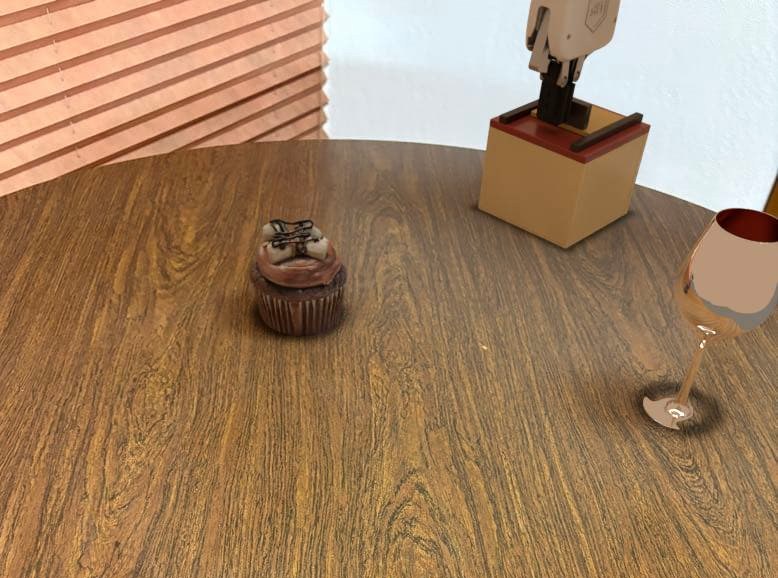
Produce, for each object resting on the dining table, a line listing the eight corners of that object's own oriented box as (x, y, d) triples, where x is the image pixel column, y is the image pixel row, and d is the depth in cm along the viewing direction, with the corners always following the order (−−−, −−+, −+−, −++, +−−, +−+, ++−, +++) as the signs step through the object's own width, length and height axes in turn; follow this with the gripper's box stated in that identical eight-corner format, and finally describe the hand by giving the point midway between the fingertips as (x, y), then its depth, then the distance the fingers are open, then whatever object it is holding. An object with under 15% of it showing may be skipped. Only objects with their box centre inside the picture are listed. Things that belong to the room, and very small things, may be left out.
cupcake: (360, 335, 85) (364, 241, 78) (266, 351, 83) (260, 255, 75) (330, 285, 91) (331, 193, 84) (241, 299, 89) (234, 206, 81)
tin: (540, 179, 111) (558, 83, 102) (626, 216, 105) (653, 117, 97) (477, 211, 104) (491, 111, 96) (564, 251, 98) (587, 149, 90)
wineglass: (621, 419, 78) (687, 231, 65) (645, 373, 83) (711, 191, 70) (711, 450, 75) (798, 262, 62) (729, 402, 81) (814, 219, 68)
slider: (566, 100, 101) (571, 73, 99) (623, 121, 97) (630, 93, 95) (530, 115, 97) (535, 87, 95) (588, 138, 94) (595, 109, 92)
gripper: (577, -63, 75) (538, 150, 88) (666, -86, 82) (618, 113, 96) (509, -81, 78) (482, 127, 92) (600, -102, 86) (562, 93, 99)
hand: (551, 119), depth 94 cm, fingers closed
